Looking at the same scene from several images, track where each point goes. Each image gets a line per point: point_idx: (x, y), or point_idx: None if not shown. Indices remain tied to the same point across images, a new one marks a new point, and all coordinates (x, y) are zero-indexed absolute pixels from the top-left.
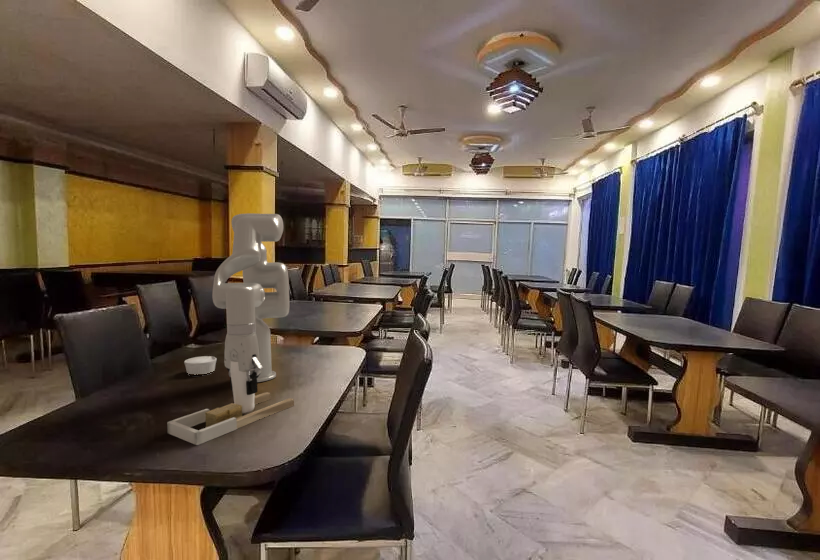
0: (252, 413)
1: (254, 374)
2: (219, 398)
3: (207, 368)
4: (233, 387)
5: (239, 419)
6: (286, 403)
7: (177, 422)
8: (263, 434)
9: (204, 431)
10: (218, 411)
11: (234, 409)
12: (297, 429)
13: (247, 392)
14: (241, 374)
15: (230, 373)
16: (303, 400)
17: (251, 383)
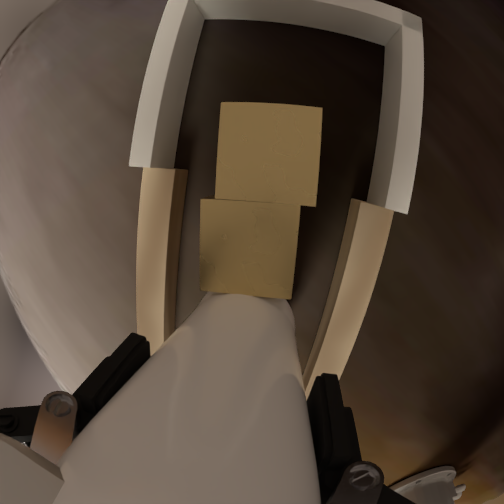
0: (152, 280)
1: (1, 416)
2: (460, 382)
3: None
4: (240, 356)
5: (147, 194)
6: None
7: (398, 39)
8: (54, 183)
9: (167, 10)
10: (252, 151)
11: (202, 234)
12: (20, 257)
13: (128, 340)
14: (74, 442)
15: (356, 488)
16: None
17: (79, 389)
